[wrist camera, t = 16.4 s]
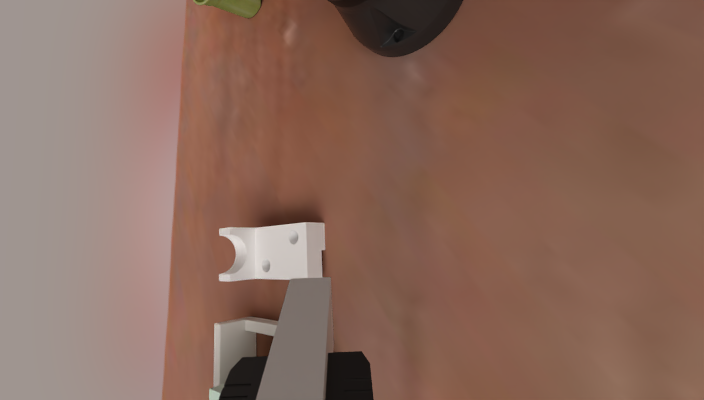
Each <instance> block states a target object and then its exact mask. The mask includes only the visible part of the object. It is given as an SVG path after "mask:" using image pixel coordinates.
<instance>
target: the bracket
mask: <svg viewBox="0 0 704 400" xmlns="http://www.w3.org/2000/svg"><path fill="white" fill-rule="evenodd" d="M219 236H225V237H227V238H228V239H230V240H231V241H232V243H233V244H234V246H235V250H236V258H235V262H234V264H233V266H232V267H231V268H230V269H229V270H228V271H227V272H225V273H222V274H219V281H239V280H248V279H282V280H290V279H293V278H321V277H322V250H325V228H324V223H315V222H303V223H294V224H285V225H276V226H267V227H258V228H236V227H229V228H221V229H219Z"/></svg>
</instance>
